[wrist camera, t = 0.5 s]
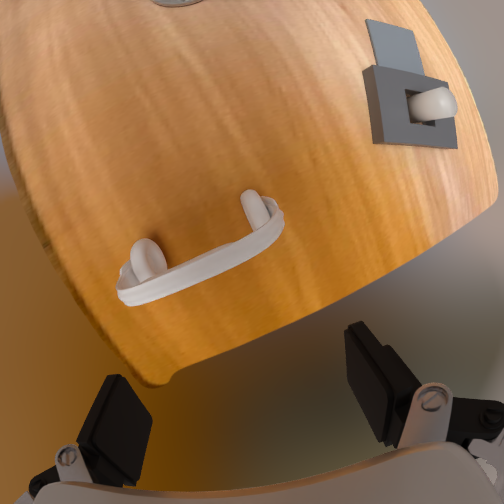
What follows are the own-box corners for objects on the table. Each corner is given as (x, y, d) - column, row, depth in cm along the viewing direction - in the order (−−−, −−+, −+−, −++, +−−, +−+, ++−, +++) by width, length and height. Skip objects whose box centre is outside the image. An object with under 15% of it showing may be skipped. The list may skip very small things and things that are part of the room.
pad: (364, 20, 30) (366, 18, 29) (410, 32, 30) (412, 30, 29) (377, 68, 32) (379, 67, 32) (423, 77, 33) (425, 77, 32)
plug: (396, 96, 34) (433, 84, 24) (416, 100, 34) (454, 90, 25) (400, 122, 35) (439, 114, 26) (420, 124, 35) (459, 119, 26)
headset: (261, 180, 37) (286, 187, 20) (280, 227, 39) (317, 270, 22) (135, 238, 38) (75, 285, 21) (157, 280, 40) (115, 348, 23)
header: (362, 71, 33) (372, 64, 29) (435, 86, 33) (447, 82, 30) (372, 143, 36) (384, 142, 33) (445, 148, 37) (457, 148, 33)
